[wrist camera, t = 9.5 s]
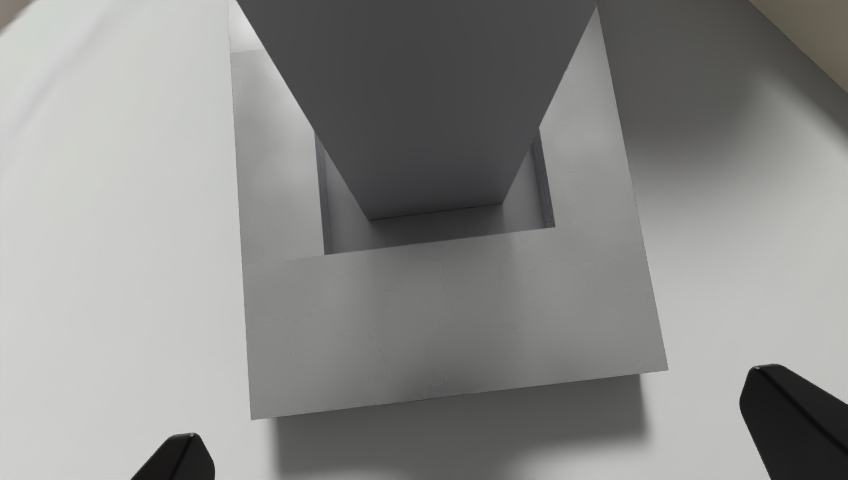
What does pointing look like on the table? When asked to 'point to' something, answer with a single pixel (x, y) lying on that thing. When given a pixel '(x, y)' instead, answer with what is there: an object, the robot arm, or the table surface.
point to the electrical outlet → (814, 31)
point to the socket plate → (437, 259)
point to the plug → (422, 89)
